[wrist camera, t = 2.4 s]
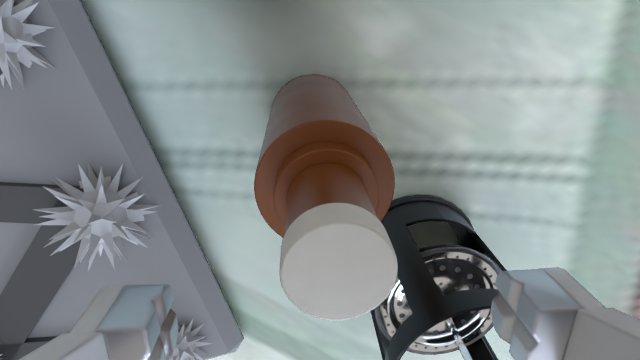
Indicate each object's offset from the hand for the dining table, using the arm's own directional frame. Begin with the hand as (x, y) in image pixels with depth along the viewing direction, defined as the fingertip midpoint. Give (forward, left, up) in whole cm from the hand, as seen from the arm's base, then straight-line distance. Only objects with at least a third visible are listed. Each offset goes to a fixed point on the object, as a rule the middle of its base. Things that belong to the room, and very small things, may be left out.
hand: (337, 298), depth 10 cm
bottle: (0, 0, -19) cm, 19 cm away
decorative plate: (+20, +7, -19) cm, 28 cm away
